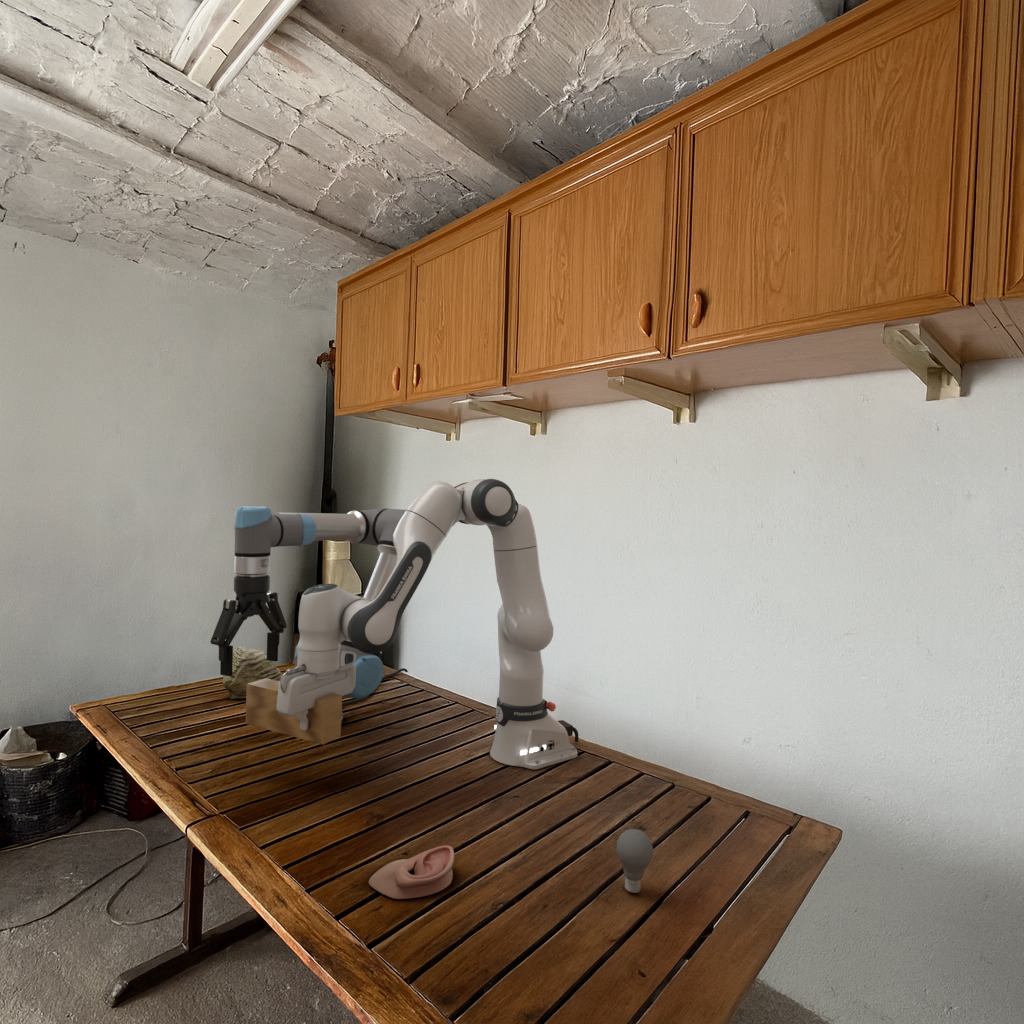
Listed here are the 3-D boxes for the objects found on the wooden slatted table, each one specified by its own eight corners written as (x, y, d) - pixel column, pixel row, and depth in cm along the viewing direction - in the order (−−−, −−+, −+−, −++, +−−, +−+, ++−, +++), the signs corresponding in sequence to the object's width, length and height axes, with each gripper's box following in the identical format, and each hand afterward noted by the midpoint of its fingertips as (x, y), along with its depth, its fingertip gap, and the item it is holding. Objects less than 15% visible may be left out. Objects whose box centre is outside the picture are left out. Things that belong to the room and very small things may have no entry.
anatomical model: (361, 868, 102) (389, 832, 113) (360, 893, 102) (388, 854, 113) (440, 882, 99) (460, 843, 110) (439, 907, 99) (459, 866, 110)
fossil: (218, 695, 195) (220, 647, 195) (278, 685, 208) (279, 640, 207) (228, 703, 189) (230, 653, 188) (289, 692, 201) (290, 645, 201)
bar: (245, 723, 142) (246, 683, 142) (264, 716, 147) (265, 678, 147) (322, 744, 132) (324, 701, 132) (340, 736, 137) (342, 694, 137)
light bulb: (610, 879, 108) (613, 822, 108) (644, 879, 109) (647, 822, 109) (619, 902, 102) (622, 840, 102) (655, 901, 103) (658, 840, 103)
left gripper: (219, 582, 130) (217, 684, 131) (303, 570, 153) (301, 657, 154) (193, 579, 133) (191, 679, 134) (279, 567, 156) (277, 653, 157)
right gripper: (293, 673, 125) (291, 742, 126) (361, 652, 144) (359, 713, 144) (270, 668, 128) (268, 736, 128) (339, 648, 146) (338, 708, 147)
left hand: (250, 667), depth 144 cm, fingers open, 13 cm apart
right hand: (317, 724), depth 136 cm, fingers closed on bar, 5 cm apart
